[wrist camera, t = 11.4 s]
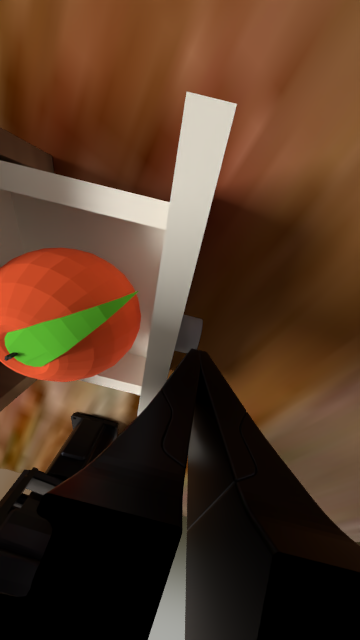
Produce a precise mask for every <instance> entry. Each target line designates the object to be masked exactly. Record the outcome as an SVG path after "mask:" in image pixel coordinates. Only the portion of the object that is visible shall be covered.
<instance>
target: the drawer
mask: <svg viewBox="0 0 360 640" xmlns="http://www.w3.org/2000/svg"><path fill="white" fill-rule="evenodd" d="M236 105H237V104H235V103H231V102H227V101H223V100H219V99H215V98H211V97H207V96H203V95H199V94H195V93H191V92H187V93H186V100H185V106H184V113H183V119H182V126H181V132H180V139H179V146H178V152H177V159H176V165H175V172H174V178H173V185H172V191H171V198H170V202H167V201H163V200H158V199H154V198H150V197H146V196H142V195H138V194H134V193H130V192H126V191H122V190H118V189H114V188H110V187H106V186H102V185H98V184H94V183H90V182H86V181H82V180H78V179H74V178H70V177H66V176H62V175H58V174H54V173H50V172H46V171H42V170H37V169H33V168H29V167H25V166H21V165H17V164H13V163H9V162H5V161H1V160H0V268H1V267H2V266H3V265H5V264H6V263H7V262H9V261H10V260H12V259H13V258H16V257H18V256H20V255H23V254H25V253H28V252H32V251H35V250H39V249H43V248H70V249H77V250H81V251H85V252H89V253H93V254H94V255H96V256H98V257H100V258H102V259H104V260H105V261H107V262H109V263H111V264H112V265H114V266H115V267H116V268H117V269H118V270H119V271H121V272H122V273H123V274H124V275H125V276H126V278H127V279H128V280H129V282H130V283H131V284H132V286H133V288H134V290H135V292H137V291H138V292H137V293H136V294H137V297H138V300H139V306H140V312H141V322H140V329H139V332H138V334H137V337H136V339H135V341H134V343H133V345H132V347H131V349H130V350H129V351H128V352H127V353H126V354H125V355H124V356H123V357H122V358H121V359H120V360H119V361H118V362H117V363H116V364H115V365H114V366H112V367H110V368H108V369H107V370H105V371H103V372H101V373H99V374H97V375H95V376H93V377H89V378H84V379H80V380H81V381H85V382H89V383H93V384H97V385H101V386H105V387H109V388H113V389H117V390H121V391H125V392H129V393H133V394H137V395H140V401H139V407H138V414H137V417H138V416H139V414H140V413H141V412H142V411H143V410H144V409H145V408H146V407H147V406H148V404H149V403H150V402H151V401H152V400H153V398H154V397H155V396H156V394H157V393H158V392H159V391H160V389H161V388H162V387H163V385H164V384H165V383H166V381H167V377H168V373H169V369H170V365H171V361H172V357H173V353H174V350H175V351H179V352H183V353H188V352H189V350H190V349H191V348H193V349H197V347H198V344H199V340H200V336H201V331H202V324H203V320H202V319H200V318H196V317H192V316H188V315H183V314H184V310H185V306H186V302H187V298H188V294H189V290H190V286H191V282H192V278H193V274H194V271H195V267H196V263H197V259H198V255H199V251H200V247H201V243H202V239H203V235H204V231H205V227H206V223H207V219H208V215H209V212H210V208H211V204H212V200H213V196H214V192H215V188H216V184H217V180H218V176H219V172H220V168H221V164H222V160H223V157H224V153H225V149H226V145H227V141H228V137H229V133H230V129H231V125H232V121H233V117H234V113H235V109H236Z"/></svg>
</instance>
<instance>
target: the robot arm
mask: <svg viewBox="0 0 360 640" xmlns="http://www.w3.org/2000/svg"><path fill="white" fill-rule="evenodd" d="M71 420H72V425H73V431H72V433H71V434H70V436H69V437H68V439H67V440H66V442H65V443H64V445H63V446H62V448H61V449H60V451H59V452H58V454H57V455H56V457H55V458H54V460H53V461H52V463H51V464H50V466H49V467H48V469H47V470H46V472H45V473H44V472H41V471H39V470H38V469H37V468H35V467H33V469H32V470H24V471H23V472H22V474H21V475H20V477H19V478H18V479H17V480H16V482H15V483H14V484H13V486H12V487H11V488H10V489H9V491H8V492H7V493H6V495H5V496H4V497H3V499H2V500H1V501H0V640H148V637H149V634H150V631H151V628H152V625H153V622H154V619H155V615H156V612H157V609H158V606H159V603H160V600H161V597H162V594H163V591H164V588H165V585H166V582H167V578H168V575H169V572H170V569H171V566H172V563H173V560H174V557H175V553H176V551H177V548H178V545H179V542H180V538H181V535H182V498H183V486H184V478H185V469H186V464H187V457H188V497H187V530H188V531H187V553H186V555H187V556H186V612H185V614H186V615H185V640H360V546H359V545H358V544H357V543H356V542H354V541H353V540H352V539H351V538H350V537H348V536H347V535H346V534H345V533H344V532H343V531H342V530H341V529H340V528H339V527H338V526H337V525H336V524H335V523H334V522H333V521H332V520H331V519H330V518H329V517H328V516H327V515H326V514H325V513H324V512H323V511H322V509H321V508H320V507H319V506H318V505H317V503H316V502H315V501H314V500H313V498H312V497H311V496H310V495H309V493H308V492H307V491H306V489H305V488H304V487H303V486H302V484H301V483H300V482H299V481H298V479H297V478H296V477H295V475H294V474H293V473H292V472H291V470H290V469H289V468H288V467H287V465H286V464H285V463H284V461H283V460H282V459H281V458H280V456H279V455H278V454H277V452H276V451H275V450H274V449H273V447H272V446H271V445H270V443H269V442H268V441H267V439H266V438H265V437H264V435H263V434H262V432H261V431H260V430H259V428H258V427H257V425H256V424H255V423H254V421H253V420H252V418H251V417H250V415H249V414H248V412H246V409H245V408H244V406H243V405H242V403H241V402H240V401H239V399H238V398H237V396H236V395H235V393H234V392H233V390H232V389H231V387H230V386H229V384H228V383H227V381H226V380H225V378H224V377H223V375H222V374H221V372H220V371H219V369H218V368H217V366H216V365H215V364H214V362H213V361H212V359H211V358H210V356H209V355H208V353H207V352H205V351H201V350H197V349H193V348H191V349H190V350H189V352H188V353H187V354H186V356H185V357H184V358H183V360H182V361H181V362H180V364H179V365H178V367H177V368H176V369H175V371H174V372H173V373H172V375H171V376H170V377H169V379H168V380H167V381H166V383H165V384H164V385H163V387H162V388H161V389H160V391H159V392H158V393H157V394H156V396H155V397H154V398H153V400H152V401H151V402H150V403H149V404H148V406H147V407H146V408H145V409H144V410H143V411H142V412H141V413H140V414H139V416H138V417H137V418H136V419H135V420H134V421H133V422H132V423H131V424H130V425H129V426H128V427H127V428H126V429H125V430H124V431H123V432H122V433H121V434H120V435H119V436H118V424H117V423H114V422H110V421H106V420H102V419H98V418H94V417H90V416H86V415H82V414H77V413H73V415H72V416H71ZM25 489H29V490H31V491H32V492H31V493H30V495H26V494H23V492H24V490H25ZM36 492H37V493H36Z"/></svg>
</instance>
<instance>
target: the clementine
mask: <svg viewBox="0 0 360 640" xmlns="http://www.w3.org/2000/svg"><path fill="white" fill-rule="evenodd" d="M137 292H138V291H137ZM137 292H135V290H134V288H133V286H132V284H131V283H130V282H129V280H128V279H127V278H126V276H125V275H124V274H123V273H122V272H121V271H119V270H118V269H117V268H116V267H115V266H114V265H112V264H111V263H109V262H107V261H105V260H104V259H102V258H100V257H98V256H96V255H94V254H93V253H89V252H85V251H81V250H77V249H70V248H43V249H39V250H35V251H32V252H28V253H25V254H23V255H20V256H18V257H16V258H13V259H12V260H10V261H9V262H7V263H6V264H5V265H3V266H2V267H1V268H0V362H2V363H3V364H4V365H5V366H7V367H8V368H10V369H12V370H13V371H15V372H17V373H20V374H22V375H24V376H27V377H31V378H35V379H39V380H48V381H59V382H68V381H75V380H80V379H84V378H89V377H93V376H95V375H97V374H99V373H101V372H103V371H105V370H107V369H108V368H110V367H112V366H114V365H115V364H116V363H117V362H118V361H119V360H120V359H121V358H122V357H123V356H124V355H125V354H126V353H127V352H128V351H129V350H130V349H131V347H132V345H133V343H134V341H135V339H136V337H137V334H138V332H139V329H140V322H141V312H140V306H139V300H138V297H137V294H136V293H137Z"/></svg>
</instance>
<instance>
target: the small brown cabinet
mask: <svg viewBox="0 0 360 640" xmlns="http://www.w3.org/2000/svg"><path fill="white" fill-rule="evenodd" d="M0 160H1V161H5V162H9V163H13V164H17V165H21V166H25V167H29V168H33V169H37V170H42V171H46V172H50V173H54V169H53V161H52V156H51V155H49V154H47V153H46V152H44V151H42V150H40V149H38V148H37V147H35V146H33V145H31V144H29V143H27V142H26V141H24V140H22V139H20V138H18V137H17V136H15V135H13V134H11V133H9V132H8V131H6V130H4V129H2V128H0ZM36 380H37V379H35V378H31V377H27V376H24V375H22V374H20V373H17V372H15V371H13V370H12V369H10V368H8V367H7V366H5V365H4V364H3V363H2V362H0V411H2V410H3V409H4V408H5V407H6V406H7V405H8V404H10V403H11V402H12V401H13V400H14V399H15V398H17V397H18V396H19V395H20V394H21V393H22V392H23V391H25V390H26V389H27V388H28V387H29V386H30V385H32V384H33V383H34V382H35V381H36Z"/></svg>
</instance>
